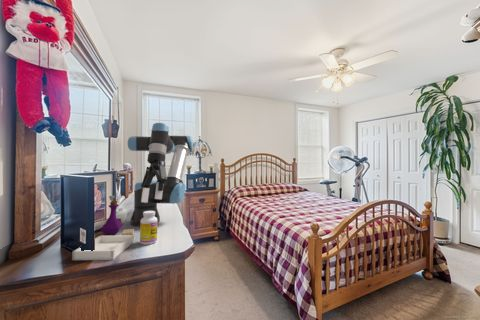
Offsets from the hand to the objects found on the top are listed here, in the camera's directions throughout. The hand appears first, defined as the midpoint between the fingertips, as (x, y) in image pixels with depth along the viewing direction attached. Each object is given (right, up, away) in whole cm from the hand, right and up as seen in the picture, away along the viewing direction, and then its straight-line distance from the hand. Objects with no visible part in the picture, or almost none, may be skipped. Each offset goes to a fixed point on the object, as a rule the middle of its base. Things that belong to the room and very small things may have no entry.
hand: (150, 200), depth 90 cm
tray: (-13, -17, -10) cm, 24 cm away
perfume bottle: (-22, -17, +8) cm, 29 cm away
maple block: (-11, -17, +1) cm, 20 cm away
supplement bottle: (0, -17, -1) cm, 17 cm away
